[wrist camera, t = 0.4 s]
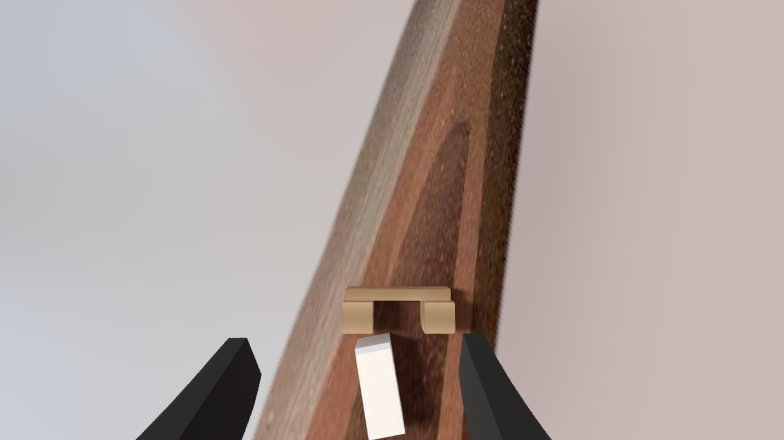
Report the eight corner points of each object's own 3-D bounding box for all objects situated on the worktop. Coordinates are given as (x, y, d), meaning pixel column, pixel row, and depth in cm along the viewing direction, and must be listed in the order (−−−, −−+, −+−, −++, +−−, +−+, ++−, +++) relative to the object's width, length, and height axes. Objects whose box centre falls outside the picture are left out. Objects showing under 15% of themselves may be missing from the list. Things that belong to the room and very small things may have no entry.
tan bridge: (447, 325, 37) (455, 333, 33) (346, 325, 37) (342, 333, 33) (447, 286, 37) (454, 290, 33) (347, 286, 37) (342, 290, 33)
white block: (402, 413, 36) (404, 433, 32) (370, 419, 36) (369, 440, 32) (389, 332, 37) (389, 342, 33) (358, 338, 37) (354, 348, 33)
